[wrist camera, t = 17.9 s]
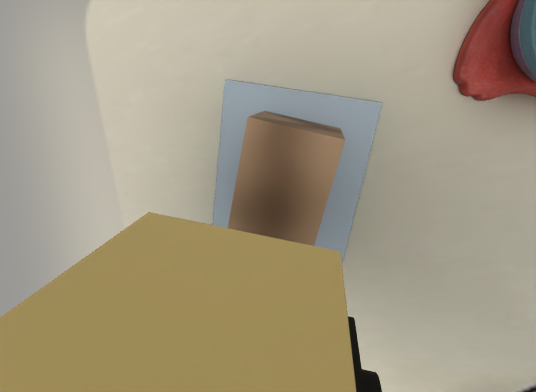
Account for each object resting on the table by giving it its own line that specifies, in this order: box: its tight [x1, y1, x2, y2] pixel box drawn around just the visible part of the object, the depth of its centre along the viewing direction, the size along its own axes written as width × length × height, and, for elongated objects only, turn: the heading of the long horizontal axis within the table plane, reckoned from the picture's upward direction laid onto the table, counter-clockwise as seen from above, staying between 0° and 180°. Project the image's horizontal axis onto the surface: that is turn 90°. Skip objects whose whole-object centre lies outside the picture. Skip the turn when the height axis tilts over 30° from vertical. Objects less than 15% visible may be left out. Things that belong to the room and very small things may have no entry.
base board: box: [213, 80, 382, 263], centre depth 27 cm, size 12×14×1 cm
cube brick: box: [0, 212, 356, 392], centre depth 8 cm, size 6×6×6 cm
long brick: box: [228, 111, 345, 246], centre depth 23 cm, size 6×10×6 cm, turn 168°
